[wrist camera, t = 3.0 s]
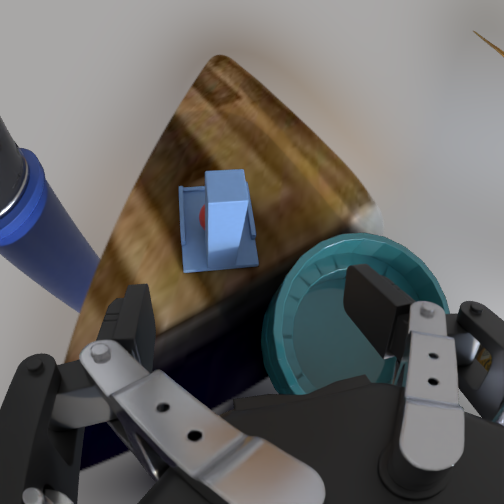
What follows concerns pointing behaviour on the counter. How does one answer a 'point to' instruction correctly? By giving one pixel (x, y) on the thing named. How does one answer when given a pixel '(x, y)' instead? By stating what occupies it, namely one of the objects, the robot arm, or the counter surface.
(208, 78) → the counter surface
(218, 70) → the counter surface
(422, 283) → the teal ribbed bowl
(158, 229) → the counter surface
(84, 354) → the robot arm
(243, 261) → the blue base with post
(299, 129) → the counter surface
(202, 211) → the bead
